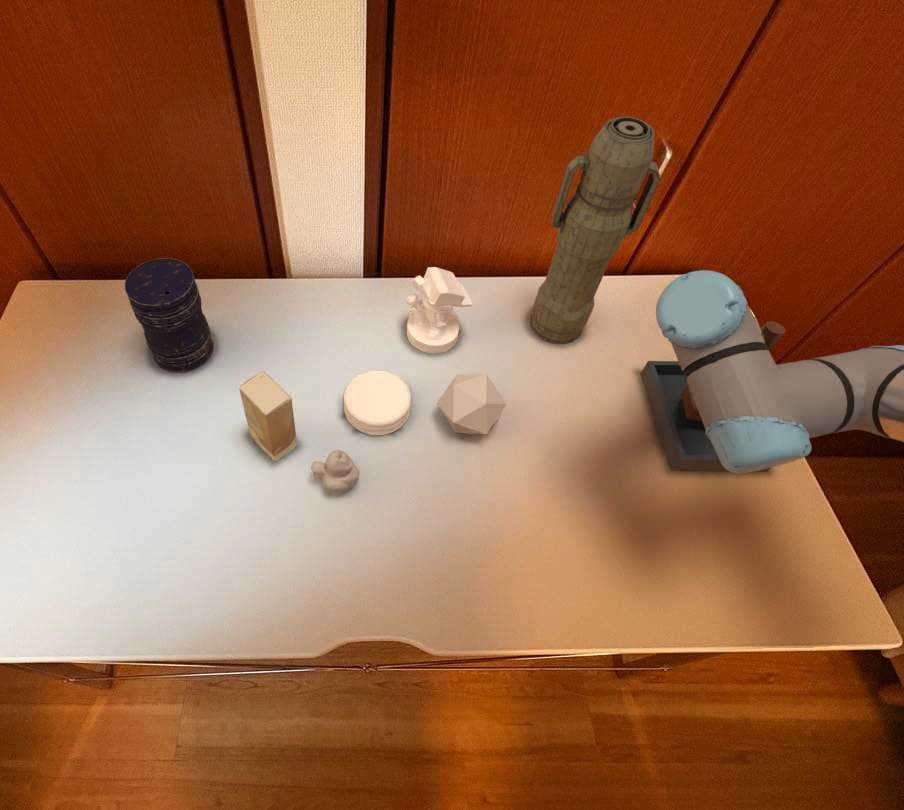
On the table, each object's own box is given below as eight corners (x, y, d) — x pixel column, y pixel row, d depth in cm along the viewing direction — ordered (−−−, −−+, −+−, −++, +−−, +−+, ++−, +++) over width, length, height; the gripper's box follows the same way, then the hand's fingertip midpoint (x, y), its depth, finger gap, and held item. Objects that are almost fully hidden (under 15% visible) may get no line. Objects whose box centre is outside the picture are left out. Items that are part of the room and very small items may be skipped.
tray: (767, 471, 87) (780, 460, 84) (672, 470, 87) (681, 459, 84) (726, 373, 97) (735, 361, 95) (640, 373, 97) (647, 360, 95)
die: (481, 391, 96) (449, 354, 90) (525, 406, 89) (493, 367, 83) (451, 435, 95) (416, 400, 88) (493, 454, 88) (458, 418, 81)
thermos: (597, 344, 101) (691, 147, 72) (525, 344, 100) (591, 147, 72) (585, 305, 106) (668, 107, 77) (517, 305, 106) (575, 107, 77)
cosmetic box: (249, 435, 90) (235, 385, 80) (272, 419, 92) (262, 367, 82) (276, 464, 87) (265, 415, 77) (299, 446, 89) (292, 396, 79)
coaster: (423, 412, 92) (425, 399, 90) (373, 448, 89) (373, 435, 86) (380, 372, 97) (381, 358, 94) (330, 405, 93) (329, 391, 90)
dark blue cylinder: (143, 342, 100) (113, 273, 88) (198, 318, 103) (177, 248, 91) (167, 383, 95) (139, 316, 83) (224, 356, 99) (205, 288, 86)
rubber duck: (357, 500, 84) (356, 471, 77) (309, 495, 84) (305, 466, 78) (361, 466, 87) (361, 435, 81) (315, 461, 87) (311, 431, 81)
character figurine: (399, 319, 104) (404, 265, 94) (452, 308, 105) (462, 254, 95) (416, 358, 99) (422, 305, 89) (471, 346, 100) (483, 293, 90)
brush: (722, 409, 93) (797, 319, 79) (729, 435, 89) (809, 346, 76) (675, 400, 93) (743, 309, 79) (681, 425, 90) (752, 335, 76)
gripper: (647, 318, 75) (688, 356, 93) (747, 411, 67) (770, 432, 85) (698, 272, 72) (730, 320, 90) (809, 363, 64) (820, 396, 83)
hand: (750, 375), depth 88 cm, fingers closed on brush, 2 cm apart
